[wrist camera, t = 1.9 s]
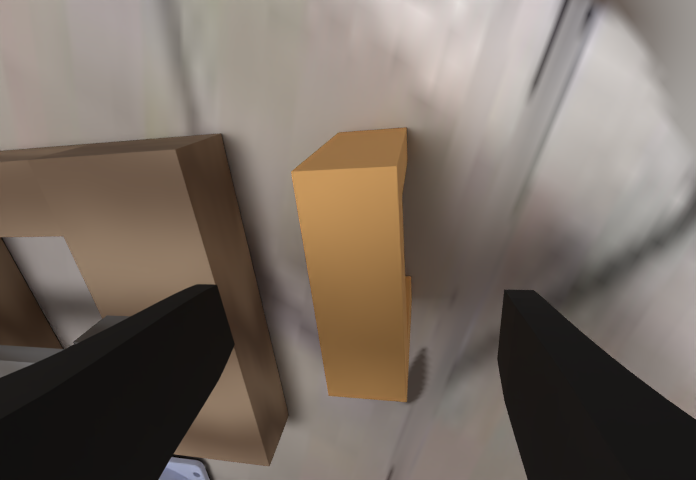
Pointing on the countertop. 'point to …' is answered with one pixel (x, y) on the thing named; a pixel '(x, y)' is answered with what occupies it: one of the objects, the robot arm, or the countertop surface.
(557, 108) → the countertop surface
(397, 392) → the orange c-shaped bracket
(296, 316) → the countertop surface
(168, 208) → the hook board
